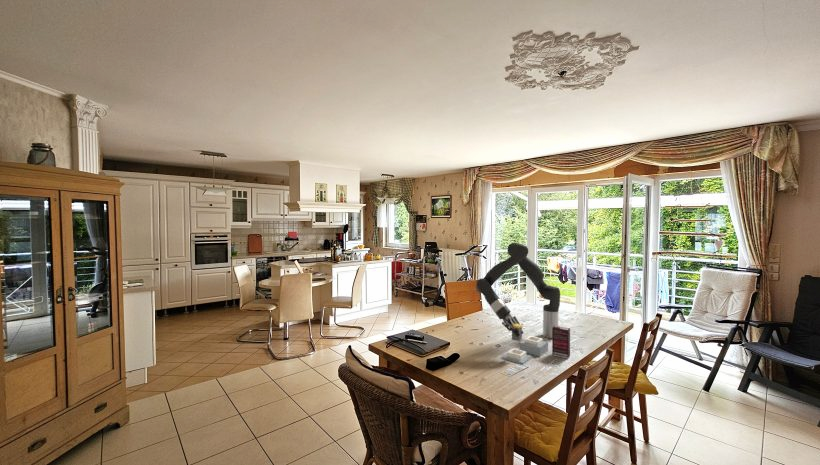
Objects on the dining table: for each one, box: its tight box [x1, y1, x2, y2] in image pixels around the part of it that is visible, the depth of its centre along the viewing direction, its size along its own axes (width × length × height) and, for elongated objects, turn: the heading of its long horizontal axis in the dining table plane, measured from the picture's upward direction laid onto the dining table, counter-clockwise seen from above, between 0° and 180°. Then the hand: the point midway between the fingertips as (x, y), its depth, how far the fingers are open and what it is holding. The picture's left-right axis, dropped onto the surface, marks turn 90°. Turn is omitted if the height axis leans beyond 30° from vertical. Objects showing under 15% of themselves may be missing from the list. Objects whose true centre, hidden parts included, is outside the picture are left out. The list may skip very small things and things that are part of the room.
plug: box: [511, 323, 523, 342], centre depth 181 cm, size 4×4×8 cm
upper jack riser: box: [519, 335, 549, 357], centre depth 192 cm, size 12×12×7 cm
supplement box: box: [551, 325, 571, 359], centre depth 185 cm, size 9×5×16 cm, turn 53°
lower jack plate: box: [501, 347, 533, 365], centre depth 181 cm, size 12×12×4 cm
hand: (520, 334), depth 180 cm, fingers closed on plug, 4 cm apart
